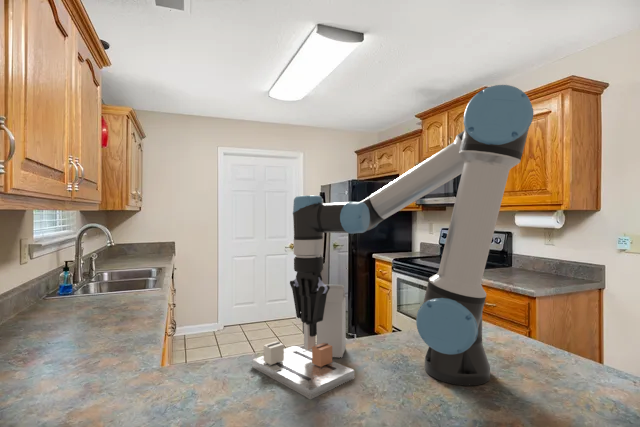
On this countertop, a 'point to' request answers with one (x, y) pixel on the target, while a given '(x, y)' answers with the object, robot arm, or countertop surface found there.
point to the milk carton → (334, 321)
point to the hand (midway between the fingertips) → (309, 347)
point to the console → (304, 372)
